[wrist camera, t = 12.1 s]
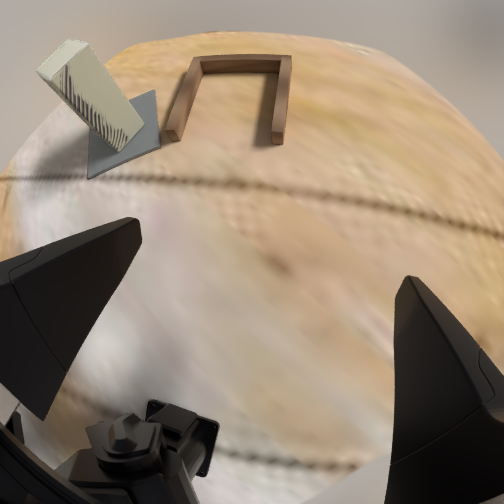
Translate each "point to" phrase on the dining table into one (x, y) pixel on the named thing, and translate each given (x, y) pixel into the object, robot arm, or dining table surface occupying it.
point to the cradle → (232, 64)
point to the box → (91, 92)
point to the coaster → (140, 144)
